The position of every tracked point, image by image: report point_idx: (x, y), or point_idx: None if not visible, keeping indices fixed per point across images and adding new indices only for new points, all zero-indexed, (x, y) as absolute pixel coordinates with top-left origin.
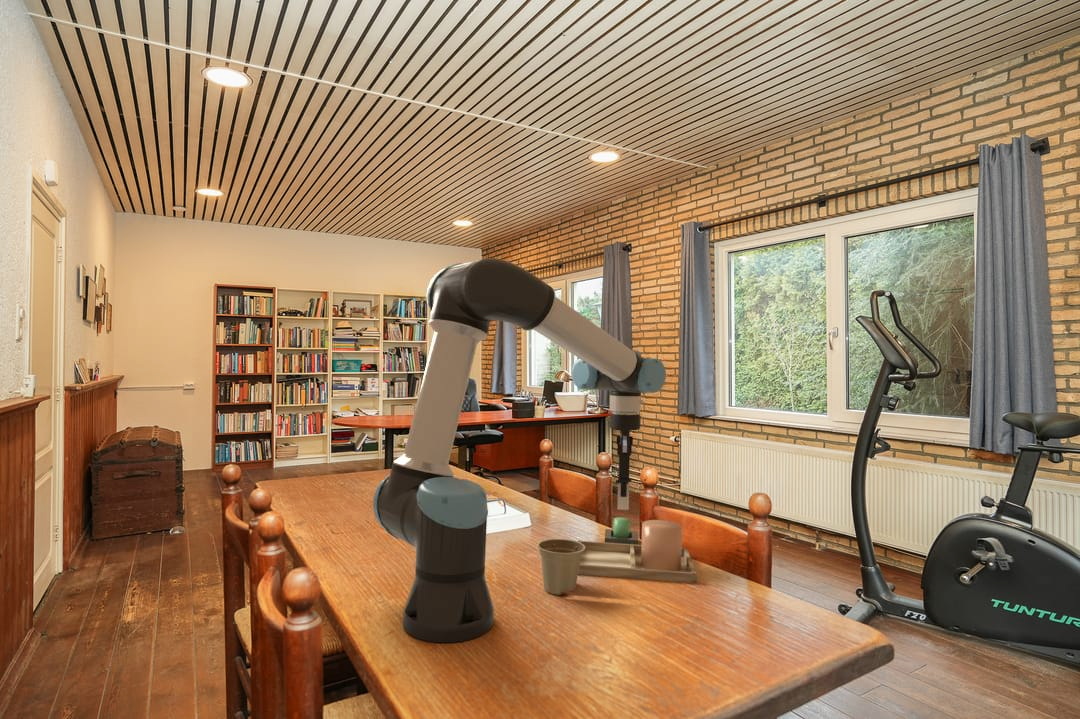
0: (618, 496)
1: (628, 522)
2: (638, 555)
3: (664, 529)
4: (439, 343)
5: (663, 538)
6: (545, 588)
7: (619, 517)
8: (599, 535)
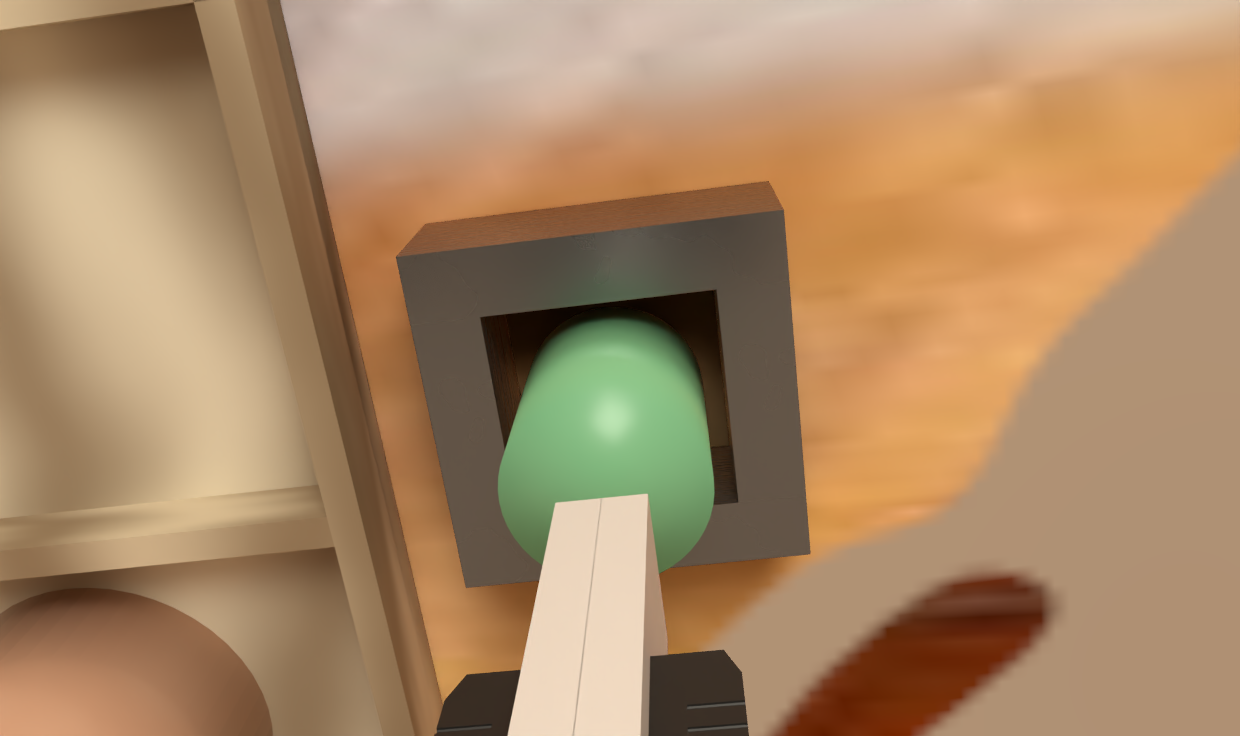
0: (537, 628)
1: None
2: (309, 554)
3: None
4: None
5: None
6: None
7: (694, 453)
8: (979, 84)
